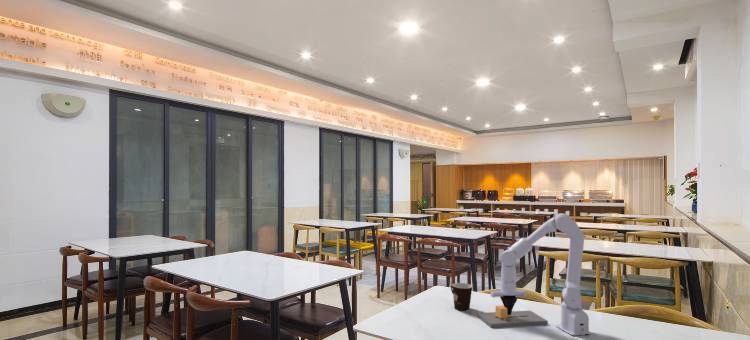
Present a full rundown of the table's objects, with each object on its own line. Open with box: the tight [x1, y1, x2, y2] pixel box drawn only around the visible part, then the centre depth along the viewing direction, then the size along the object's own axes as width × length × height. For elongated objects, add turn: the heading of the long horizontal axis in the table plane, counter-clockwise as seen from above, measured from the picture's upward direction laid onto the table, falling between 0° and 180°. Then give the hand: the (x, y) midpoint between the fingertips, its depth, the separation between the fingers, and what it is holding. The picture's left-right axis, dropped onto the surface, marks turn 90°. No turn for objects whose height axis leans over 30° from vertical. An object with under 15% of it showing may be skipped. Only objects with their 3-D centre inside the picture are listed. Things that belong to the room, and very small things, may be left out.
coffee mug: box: [450, 282, 473, 312], centre depth 172 cm, size 12×9×10 cm
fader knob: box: [495, 304, 507, 319], centre depth 156 cm, size 4×3×4 cm
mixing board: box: [476, 310, 549, 329], centre depth 157 cm, size 12×24×2 cm, turn 100°
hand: (508, 314), depth 156 cm, fingers closed
